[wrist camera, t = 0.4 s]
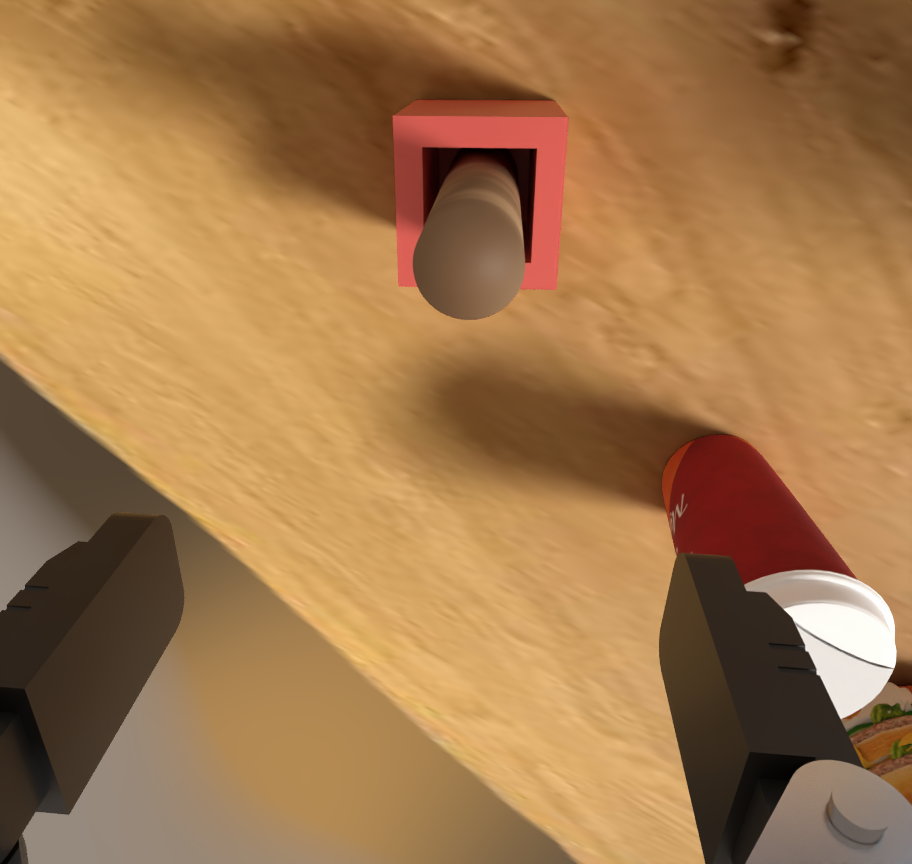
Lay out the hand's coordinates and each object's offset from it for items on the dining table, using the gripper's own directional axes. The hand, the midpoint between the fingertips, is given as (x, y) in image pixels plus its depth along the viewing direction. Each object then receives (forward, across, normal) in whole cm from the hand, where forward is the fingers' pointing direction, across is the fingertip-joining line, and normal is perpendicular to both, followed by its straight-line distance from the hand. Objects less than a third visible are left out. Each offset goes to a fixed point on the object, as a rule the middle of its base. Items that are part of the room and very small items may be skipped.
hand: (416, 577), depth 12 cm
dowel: (+25, 0, -2) cm, 25 cm away
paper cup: (+26, -13, +13) cm, 32 cm away
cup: (+26, 0, -2) cm, 26 cm away
